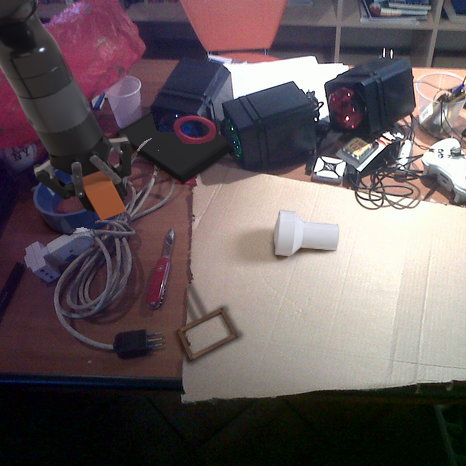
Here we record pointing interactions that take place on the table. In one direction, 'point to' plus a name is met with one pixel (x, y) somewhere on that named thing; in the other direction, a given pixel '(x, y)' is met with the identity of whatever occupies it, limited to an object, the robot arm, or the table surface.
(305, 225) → the spotlight
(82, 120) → the robot arm
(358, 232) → the table surface
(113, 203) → the block
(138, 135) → the external hard drive
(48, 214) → the blue plastic ring
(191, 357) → the wooden frame tray
